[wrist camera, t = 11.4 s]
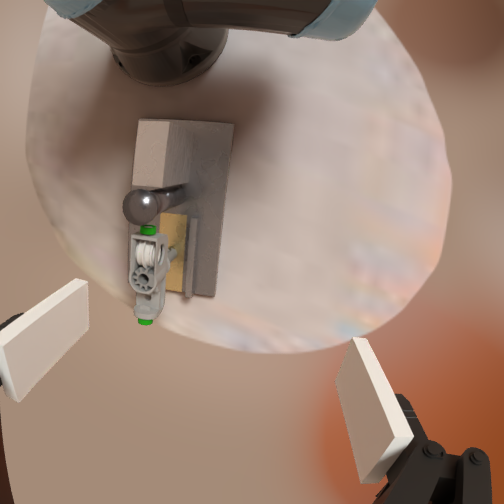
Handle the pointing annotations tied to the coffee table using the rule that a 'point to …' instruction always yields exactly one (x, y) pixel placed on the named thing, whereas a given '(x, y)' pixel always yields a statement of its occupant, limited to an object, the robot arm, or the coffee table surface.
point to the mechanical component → (149, 271)
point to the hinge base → (202, 197)
